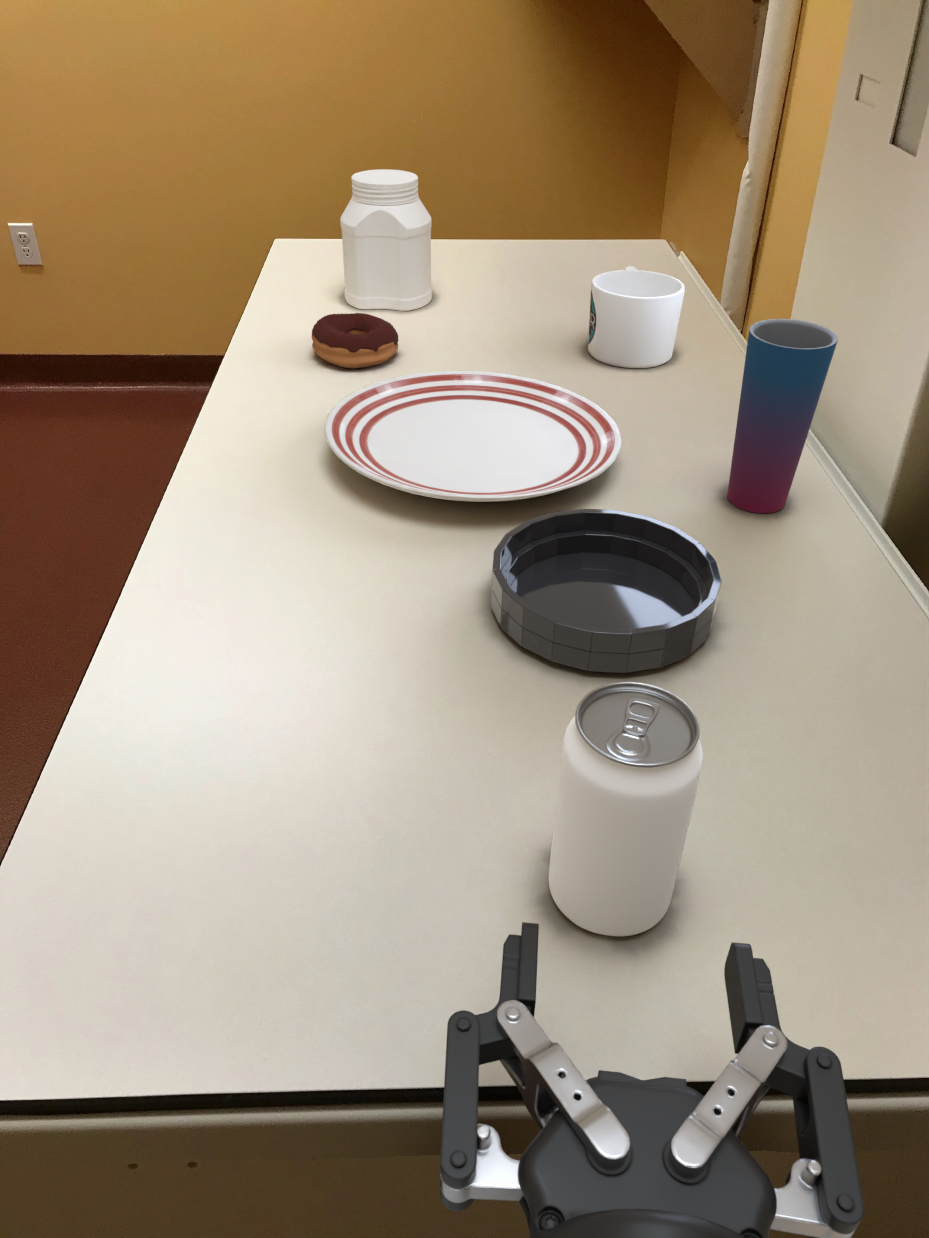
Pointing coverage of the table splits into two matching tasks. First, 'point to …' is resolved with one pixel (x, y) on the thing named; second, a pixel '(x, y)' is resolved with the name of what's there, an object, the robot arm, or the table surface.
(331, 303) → the table surface
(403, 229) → the jar
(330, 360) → the donut
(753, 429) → the cup
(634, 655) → the pan
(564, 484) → the dinner plate
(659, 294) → the mug
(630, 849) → the can
